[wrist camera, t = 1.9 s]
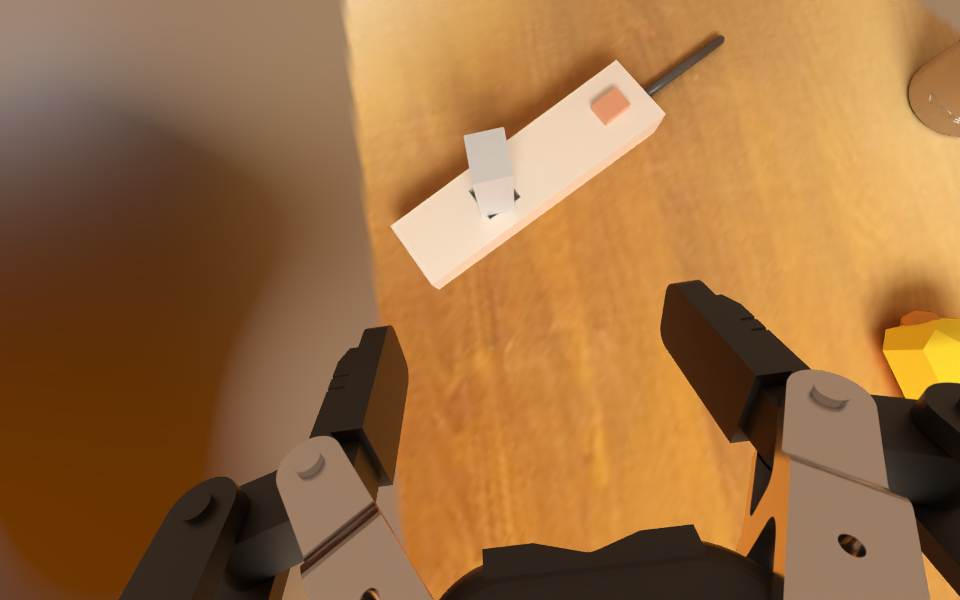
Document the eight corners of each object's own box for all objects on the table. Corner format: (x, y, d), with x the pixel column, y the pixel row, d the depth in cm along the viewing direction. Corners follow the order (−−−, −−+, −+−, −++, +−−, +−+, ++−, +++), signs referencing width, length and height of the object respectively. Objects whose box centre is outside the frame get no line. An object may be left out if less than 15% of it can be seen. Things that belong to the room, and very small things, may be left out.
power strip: (696, 17, 43) (716, -19, 39) (744, 66, 42) (770, 35, 38) (400, 235, 44) (387, 223, 40) (438, 289, 43) (429, 283, 38)
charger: (476, 183, 41) (463, 135, 32) (507, 176, 41) (503, 126, 32) (483, 221, 41) (472, 184, 31) (514, 215, 41) (513, 176, 31)
